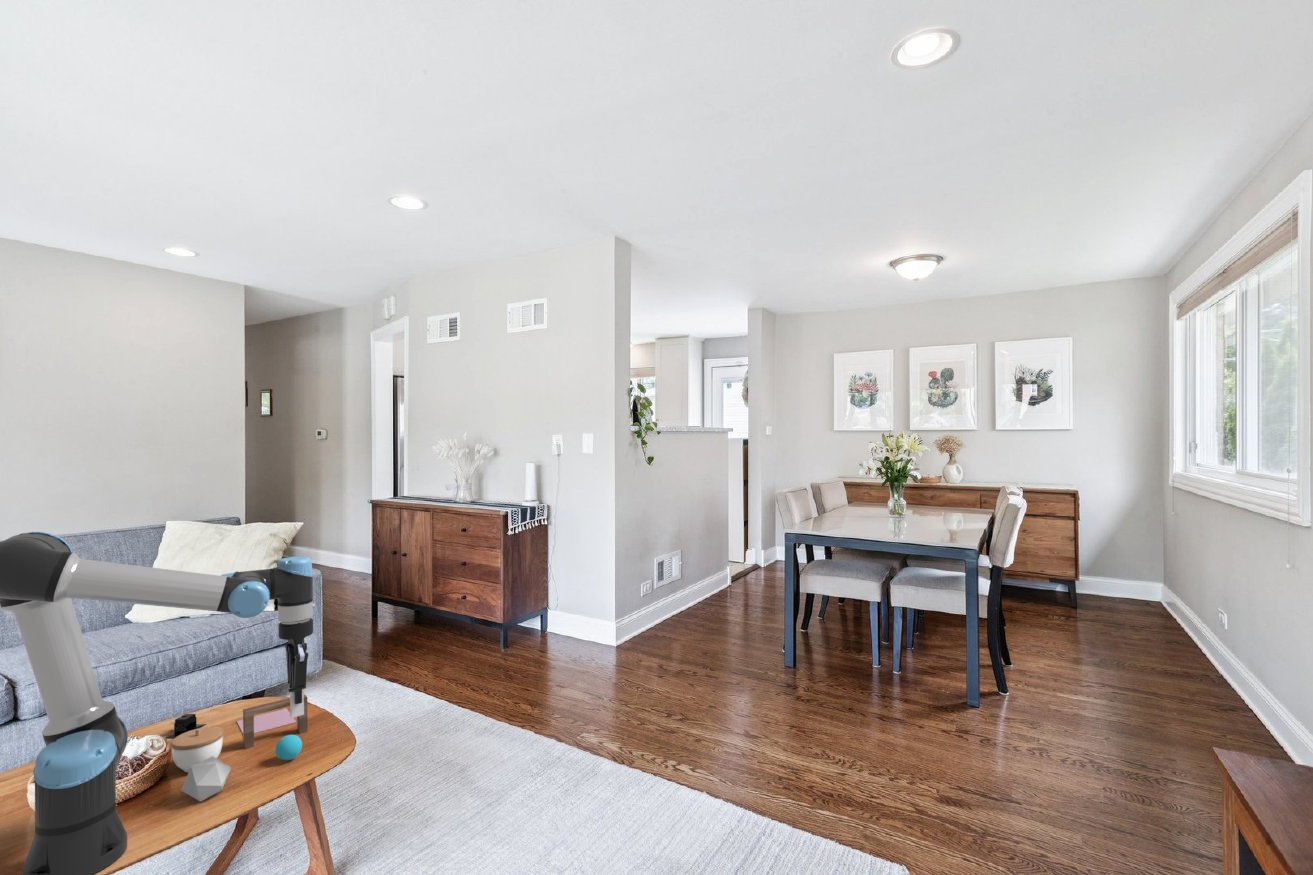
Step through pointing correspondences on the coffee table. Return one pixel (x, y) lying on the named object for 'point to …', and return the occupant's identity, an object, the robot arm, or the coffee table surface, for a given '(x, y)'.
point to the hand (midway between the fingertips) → (297, 715)
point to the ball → (288, 747)
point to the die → (206, 778)
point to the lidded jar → (196, 746)
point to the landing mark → (270, 720)
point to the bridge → (250, 712)
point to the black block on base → (184, 725)
